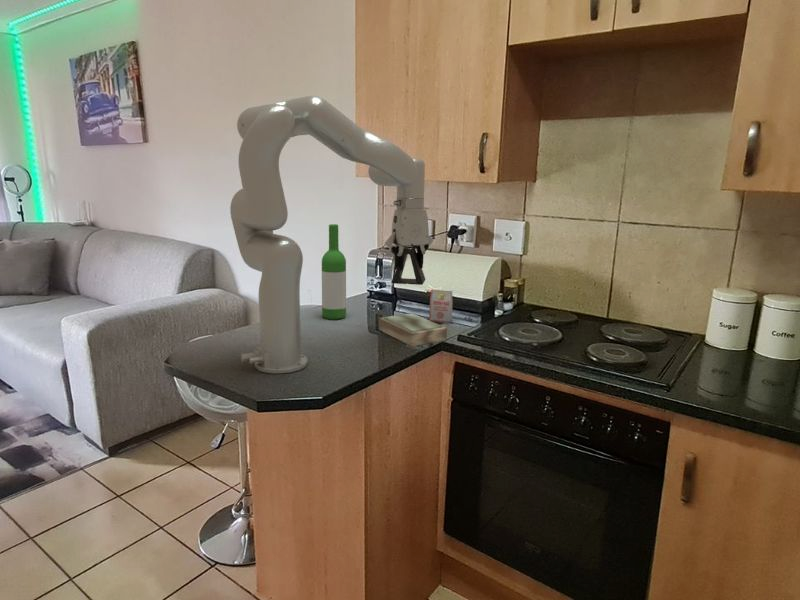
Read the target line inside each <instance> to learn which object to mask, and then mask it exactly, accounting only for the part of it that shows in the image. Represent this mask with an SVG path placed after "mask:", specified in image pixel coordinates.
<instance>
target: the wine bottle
mask: <svg viewBox="0 0 800 600" xmlns="http://www.w3.org/2000/svg"><path fill="white" fill-rule="evenodd" d="M339 247H340V246H339V224H328V250H327V251H326V252H325V253H324V254H323V256H322V259H321V314H322V317H323V318H324V319H326V320H327V319H328V320H340V319H344V318H345V317H346V316H347V260H346V256H345V255H344V253H343V252H342V251H340V250H339V249H340V248H339Z"/></svg>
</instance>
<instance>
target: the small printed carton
mask: <svg viewBox="0 0 800 600" xmlns="http://www.w3.org/2000/svg"><path fill="white" fill-rule="evenodd" d="M453 305H454V303H453V290H444V289H443V290H441V289H430V298H429V309H428V310H429V311H428V313H429V317H428V320H429V321H432V322H438V323H439V322H440V323H449V324H451V321H452V320H453Z"/></svg>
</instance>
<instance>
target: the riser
mask: <svg viewBox="0 0 800 600" xmlns="http://www.w3.org/2000/svg"><path fill="white" fill-rule="evenodd" d="M378 321H379V322H378V330H379V331H381V332H383V333H385V334H387V335H388V336H390V337H393V338H394V339H397V340H398V341H401V342H403V343H404V344H406V345H408V346H410V347H415V346H420V345H427V344H432V343H438V342H442V341H447V340H448V339H447V337H448V327H445V326H443V325H441V324H438V323H436V322H435V321H429V319H427V318H424V317H422V316H419V315H417V314H415V313H412V312H411V313H405V314H397V315H391V316H390V315H389V316H383V317H379V318H378Z"/></svg>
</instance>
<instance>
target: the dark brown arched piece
mask: <svg viewBox="0 0 800 600" xmlns="http://www.w3.org/2000/svg"><path fill="white" fill-rule="evenodd" d="M411 245H412V246H411V248H410V247H409V246H406V247H404V248H403V252H402V255H401V256H403V270H399V267H397V269H395V272H394V275H393V277H392V279H391V283H392V284H397V285H399V284H400V285H418V286H421V285H422V286H423V285H424V283H425V282H426V276H425V273H424V271H423V268H420V265H419V261H418V257H417V251H416V246H413V244H412V243H411ZM408 255H409V256H410V262H411V265H412V270H413V274H414V277H415V278H404V277H402V276H403V273H404V269H405V265H406V261H407V259H408Z"/></svg>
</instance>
